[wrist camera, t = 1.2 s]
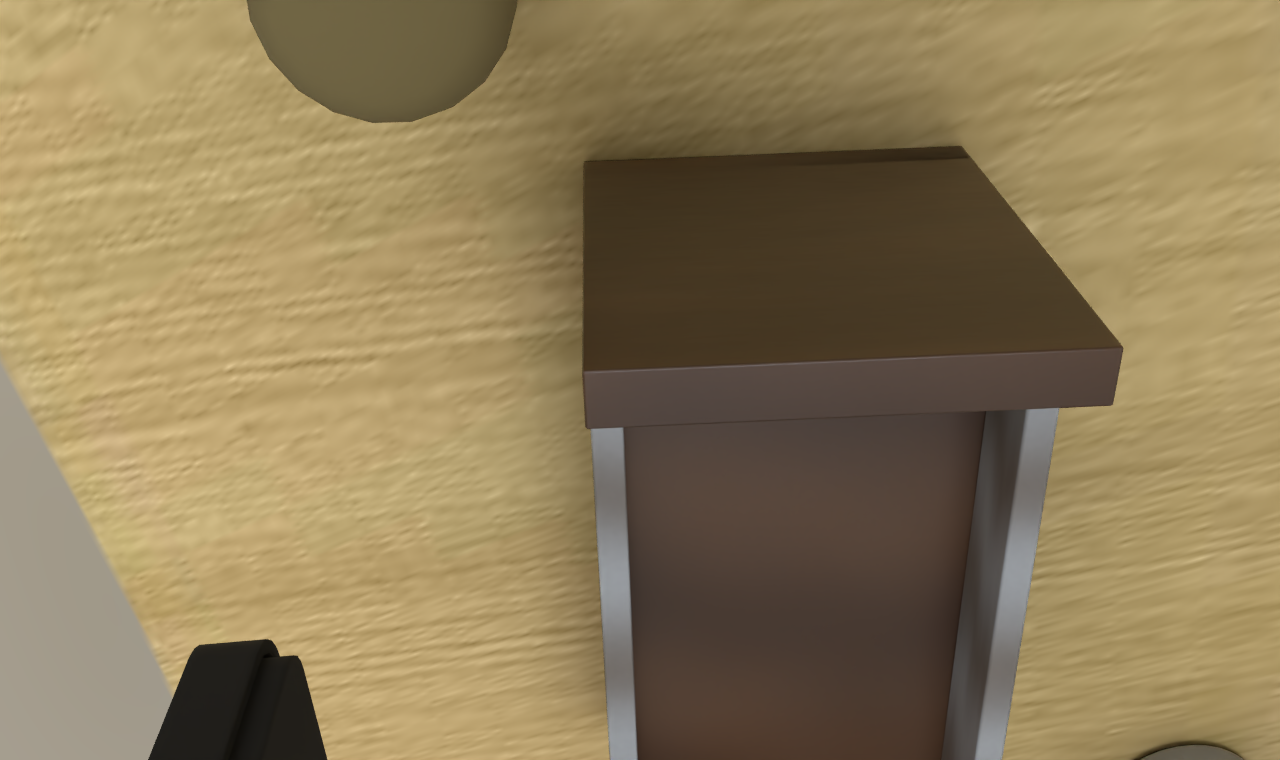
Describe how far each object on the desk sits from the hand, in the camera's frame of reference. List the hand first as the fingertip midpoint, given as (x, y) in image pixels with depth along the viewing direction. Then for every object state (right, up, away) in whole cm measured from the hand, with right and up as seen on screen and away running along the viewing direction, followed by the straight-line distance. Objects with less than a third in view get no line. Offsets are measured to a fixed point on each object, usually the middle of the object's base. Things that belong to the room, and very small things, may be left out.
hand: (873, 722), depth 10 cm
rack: (+2, 0, +31) cm, 31 cm away
